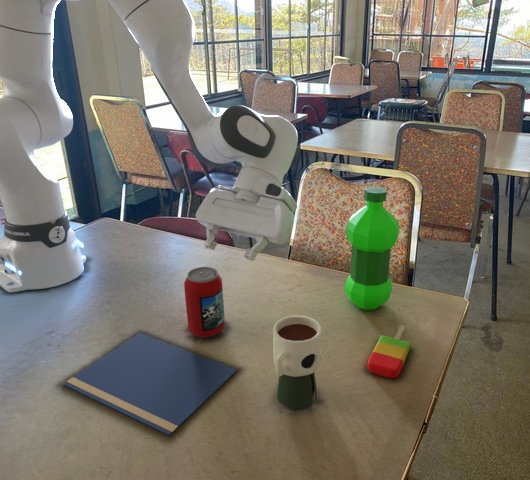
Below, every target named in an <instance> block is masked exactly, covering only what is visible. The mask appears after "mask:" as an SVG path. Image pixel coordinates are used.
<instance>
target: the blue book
mask: <svg viewBox="0 0 530 480" xmlns="http://www.w3.org/2000/svg"><path fill="white" fill-rule="evenodd" d="M237 372H238V369H236V368H233V367H231V366H228V365H225V364H223V363H220V362H217V361H215V360H213V359H209V358H207V357H205V356H202V355H200V354H196V353H194V352H192V351H189V350H186V349H183V348H181V347H178V346H176V345H173V344H170V343H168V342H165V341H163V340H160V339H157V338H155V337H152V336H149V335H147V334H145V333H141V332H139V333H137V334H136V335H134V336H133V337H131V338H130V339H128V340H126V341H125V342H123V343H122V344H121V345H119V346H118V347H116V348H114V349H113V350H111V351H110V352H108V353H107V354H105V355H104V356H103V357H101V358H99V359H98V360H97V361H95V362H94V363H92V364H90V365H89V366H88V367H86V368H84V369H83V370H81V371H80V372H79V373H77V374H76V375H74V376H72V377H70V378H69V379H68V380H66V381H65V382H64V383H62V386H65V387H67V388H69V389H71V390H73V391H75V392H77V393H79V394H81V395H83V396H86V397H88V398H90V399H92V400H94V401H96V402H98V403H100V404H102V405H104V406H107V407H108V408H110V409H112V410H114V411H117V412H119V413H120V414H123V415H125V416H127V417H129V418H131V419H133V420H135V421H138V422H139V423H142V424H144V425H146V426H148V427H149V428H152V429H154V430H156V431H158V432H159V433H162V434H164V435H166V436H171V435H172V434H173V433H174V432H175V431H176V430H177V429H178V428H179V427H180V426H181V425H182V424H183V423H185V421H187V419H189V418H190V417H191V416H192V415H193V414H194V413H195V412H196V411H197V410H198V409H199V408H200V407H201V406H202V405H203V404H204V403H205V402H206V401H207V400H208V399H210V397H212V396H213V395H214V394H215V392H217V391H218V390H219V389H220V388H221V387H222V386H223V385H224V384H225V383H226V382H227V381H228V380H229V379H231V377H233V376H234V374H235V373H237Z"/></svg>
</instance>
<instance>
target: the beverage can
mask: <svg viewBox="0 0 530 480" xmlns="http://www.w3.org/2000/svg"><path fill="white" fill-rule="evenodd" d="M223 285H224V284H223V279H222V277H221V275H220V274H219V273H218V270H217V269H216V268H214V267H210V266H200V267H195V268H193V269H191V270H189V271H188V272H187V274H186V278H185V280H184V282H183V286H184V298H185V299H184V300H185V307H186V309H185V310H186V318H187V327H188V332H189V333H190V334H192V335H193V336H196V337H200V338H210V337H213V336H214V337H215V336H216V335H217V334H219V333H221V332H222V331H223V330H224V328H225V325H226V322H225V321H226V320H225V319H226V318H225V303H224V301H225V300H224V286H223Z"/></svg>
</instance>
